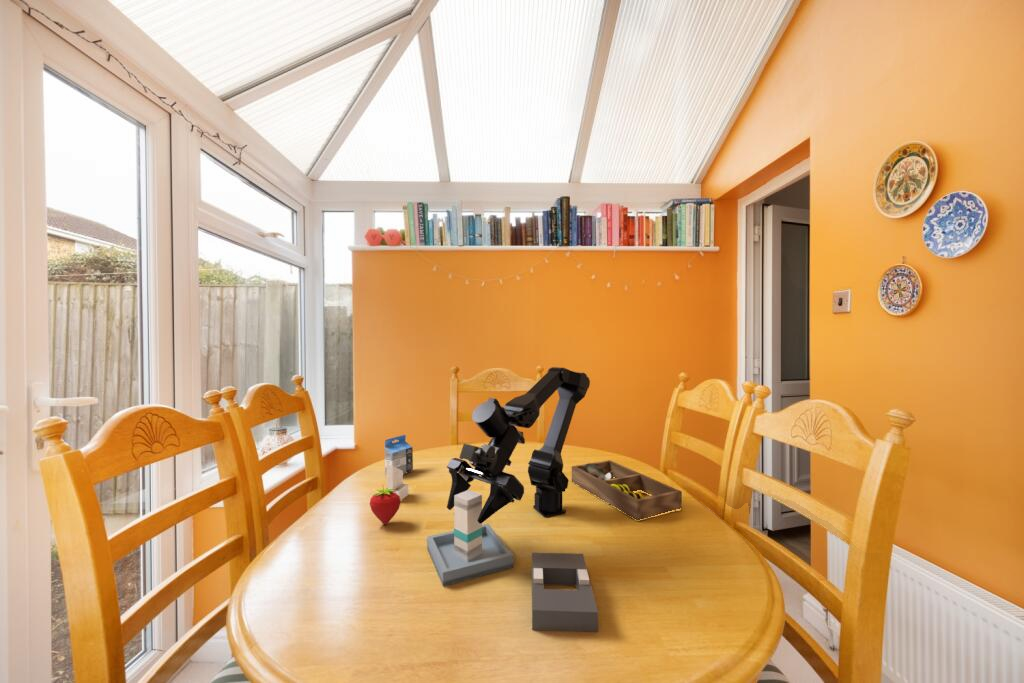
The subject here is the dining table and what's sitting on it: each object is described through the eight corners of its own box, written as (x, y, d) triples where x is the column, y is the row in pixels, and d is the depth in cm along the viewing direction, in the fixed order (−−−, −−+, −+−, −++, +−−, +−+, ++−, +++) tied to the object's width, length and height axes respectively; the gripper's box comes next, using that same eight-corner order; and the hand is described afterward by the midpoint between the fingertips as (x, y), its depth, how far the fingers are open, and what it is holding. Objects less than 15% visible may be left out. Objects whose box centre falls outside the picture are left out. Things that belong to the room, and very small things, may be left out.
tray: (488, 534, 87) (488, 523, 87) (513, 567, 74) (513, 554, 74) (427, 548, 81) (427, 536, 81) (443, 586, 68) (443, 572, 68)
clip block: (531, 567, 74) (531, 548, 74) (583, 569, 74) (583, 549, 74) (532, 629, 58) (532, 604, 58) (598, 631, 58) (597, 606, 58)
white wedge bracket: (378, 499, 101) (386, 465, 105) (394, 504, 109) (401, 472, 114) (390, 500, 100) (398, 466, 104) (406, 505, 109) (413, 473, 113)
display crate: (610, 475, 126) (609, 460, 126) (681, 510, 99) (681, 491, 99) (571, 482, 119) (571, 466, 119) (637, 521, 93) (637, 501, 93)
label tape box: (392, 479, 122) (392, 441, 122) (384, 476, 125) (384, 439, 125) (413, 471, 130) (413, 435, 130) (405, 469, 132) (405, 434, 132)
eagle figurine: (610, 477, 120) (582, 470, 122) (615, 463, 116) (586, 456, 118) (609, 498, 114) (580, 491, 116) (614, 484, 110) (583, 476, 112)
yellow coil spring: (645, 511, 99) (645, 492, 99) (628, 514, 97) (628, 495, 97) (622, 497, 108) (622, 479, 108) (607, 499, 106) (607, 482, 106)
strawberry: (393, 531, 88) (393, 488, 88) (364, 528, 90) (364, 486, 90) (405, 519, 94) (405, 479, 94) (377, 517, 96) (377, 477, 96)
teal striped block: (468, 546, 80) (468, 489, 81) (482, 553, 78) (482, 494, 78) (453, 554, 77) (453, 495, 77) (467, 561, 75) (467, 500, 75)
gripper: (452, 422, 87) (412, 484, 78) (515, 435, 75) (474, 510, 66) (477, 449, 93) (442, 509, 84) (539, 465, 81) (504, 537, 72)
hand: (463, 515), depth 77 cm, fingers open, 9 cm apart
